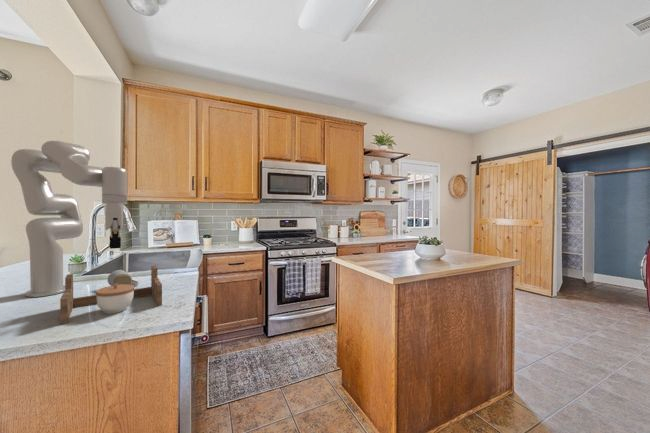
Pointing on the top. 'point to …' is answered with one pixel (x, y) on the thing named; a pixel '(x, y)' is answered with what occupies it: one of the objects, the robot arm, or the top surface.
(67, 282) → the wooden rack
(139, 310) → the top surface
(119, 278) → the white mug
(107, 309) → the lidded jar
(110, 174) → the robot arm
